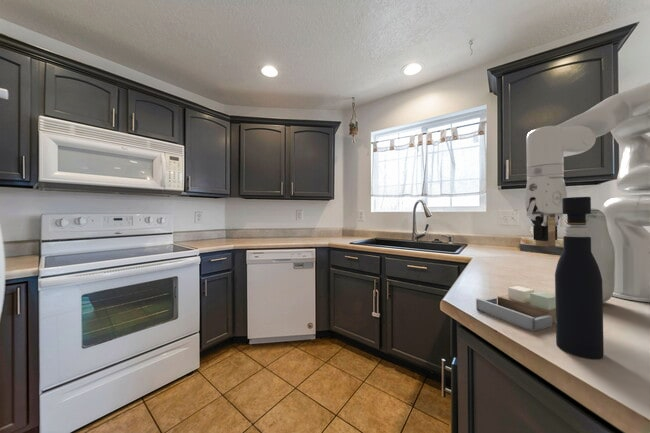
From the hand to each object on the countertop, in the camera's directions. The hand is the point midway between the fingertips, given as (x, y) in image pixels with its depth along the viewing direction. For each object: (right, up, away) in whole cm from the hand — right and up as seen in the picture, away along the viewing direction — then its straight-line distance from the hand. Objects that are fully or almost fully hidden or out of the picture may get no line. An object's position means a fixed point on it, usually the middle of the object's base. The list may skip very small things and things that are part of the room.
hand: (545, 239), depth 66 cm
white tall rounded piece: (+18, -19, +5) cm, 27 cm away
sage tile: (-5, -17, -5) cm, 18 cm away
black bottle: (-11, -20, -19) cm, 30 cm away
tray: (-12, -20, -4) cm, 24 cm away
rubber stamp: (0, -4, 0) cm, 4 cm away
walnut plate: (-3, -20, -1) cm, 20 cm away
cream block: (-6, -17, 0) cm, 18 cm away
